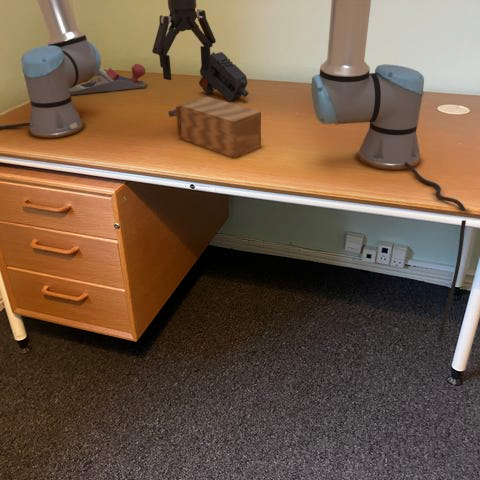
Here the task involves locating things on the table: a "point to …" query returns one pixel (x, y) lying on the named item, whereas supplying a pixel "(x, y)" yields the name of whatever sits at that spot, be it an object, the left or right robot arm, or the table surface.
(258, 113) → the wooden grain block
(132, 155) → the table surface
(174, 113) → the drawer
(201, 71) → the tool
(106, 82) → the hand plane
